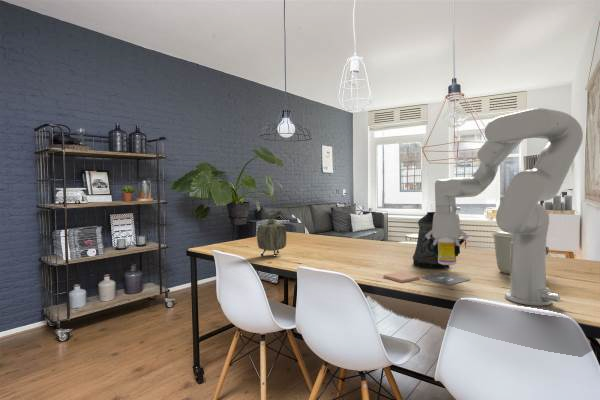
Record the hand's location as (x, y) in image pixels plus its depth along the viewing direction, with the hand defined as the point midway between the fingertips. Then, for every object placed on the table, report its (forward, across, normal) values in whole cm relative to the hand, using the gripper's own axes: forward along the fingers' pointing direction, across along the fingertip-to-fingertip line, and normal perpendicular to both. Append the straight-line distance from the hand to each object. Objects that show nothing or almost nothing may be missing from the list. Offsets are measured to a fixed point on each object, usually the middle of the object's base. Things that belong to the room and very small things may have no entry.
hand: (446, 254), depth 139 cm
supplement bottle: (+4, 0, 0) cm, 4 cm away
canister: (+10, -25, -23) cm, 35 cm away
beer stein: (+9, +8, -24) cm, 27 cm away
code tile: (+10, +1, -1) cm, 10 cm away
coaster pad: (+9, +17, +5) cm, 20 cm away
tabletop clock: (+7, +91, -13) cm, 92 cm away
